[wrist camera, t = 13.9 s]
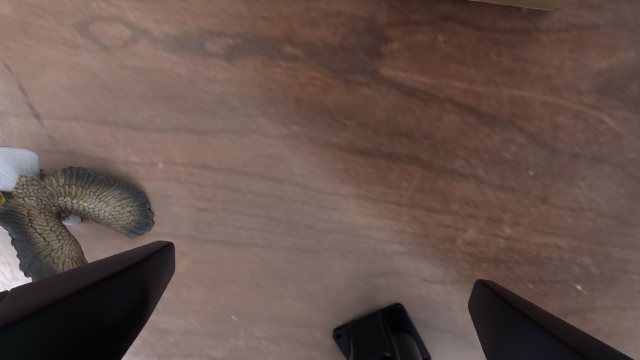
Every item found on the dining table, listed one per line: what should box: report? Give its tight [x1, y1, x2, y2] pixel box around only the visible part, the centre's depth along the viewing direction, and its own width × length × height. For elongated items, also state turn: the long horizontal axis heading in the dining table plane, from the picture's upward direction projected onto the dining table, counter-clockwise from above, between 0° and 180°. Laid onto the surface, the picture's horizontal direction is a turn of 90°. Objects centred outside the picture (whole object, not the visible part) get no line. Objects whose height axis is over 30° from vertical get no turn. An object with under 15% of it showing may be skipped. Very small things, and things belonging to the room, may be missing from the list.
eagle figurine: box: [0, 146, 153, 281], centre depth 20 cm, size 8×7×9 cm
